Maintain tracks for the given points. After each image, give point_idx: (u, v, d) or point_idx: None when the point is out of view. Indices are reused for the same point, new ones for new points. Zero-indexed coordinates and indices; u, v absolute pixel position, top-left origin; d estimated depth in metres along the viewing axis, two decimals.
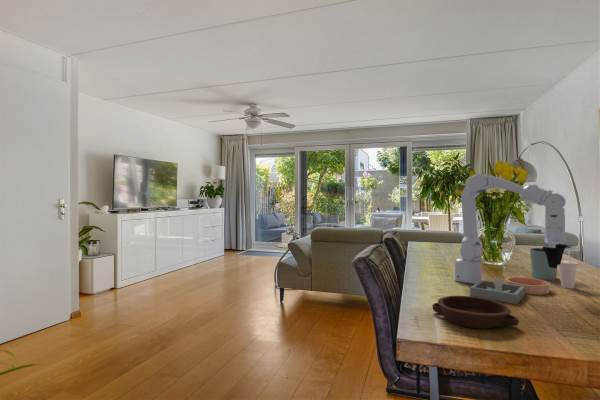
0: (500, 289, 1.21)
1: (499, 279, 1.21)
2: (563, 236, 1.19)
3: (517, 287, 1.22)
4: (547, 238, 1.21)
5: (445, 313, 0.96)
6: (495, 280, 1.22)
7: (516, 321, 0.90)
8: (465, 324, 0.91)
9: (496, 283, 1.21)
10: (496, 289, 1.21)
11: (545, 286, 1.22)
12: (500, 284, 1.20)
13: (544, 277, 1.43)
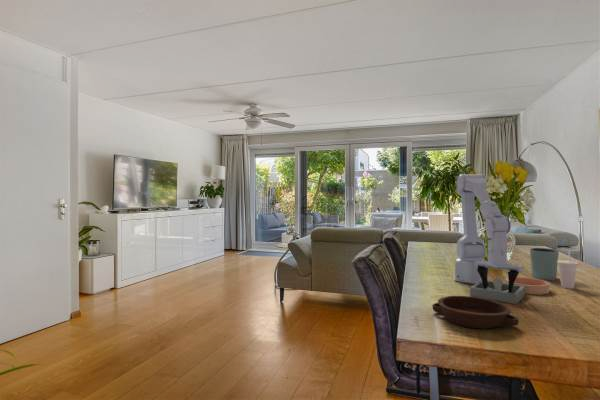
0: (499, 289, 1.20)
1: (498, 279, 1.21)
2: (492, 259, 1.19)
3: (517, 287, 1.22)
4: None
5: (445, 313, 0.96)
6: (494, 280, 1.22)
7: (516, 321, 0.90)
8: (465, 324, 0.91)
9: (495, 283, 1.21)
10: (496, 289, 1.21)
11: (545, 286, 1.22)
12: (499, 284, 1.20)
13: (544, 277, 1.43)
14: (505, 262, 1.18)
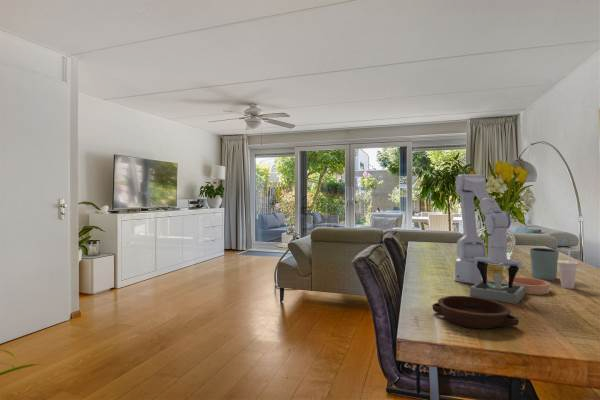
0: (500, 284, 1.20)
1: (499, 274, 1.21)
2: (491, 255, 1.19)
3: (517, 287, 1.22)
4: None
5: (445, 313, 0.96)
6: (495, 275, 1.22)
7: (516, 321, 0.90)
8: (465, 324, 0.91)
9: (496, 278, 1.21)
10: (496, 284, 1.21)
11: (545, 286, 1.22)
12: (500, 279, 1.20)
13: (544, 277, 1.43)
14: (504, 257, 1.18)
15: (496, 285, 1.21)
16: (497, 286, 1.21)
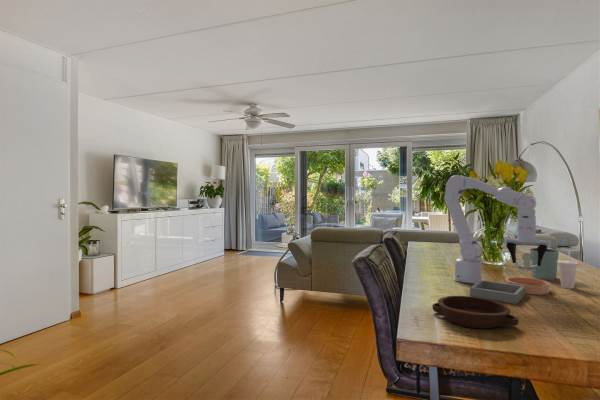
0: (528, 263, 1.28)
1: (527, 254, 1.28)
2: (521, 235, 1.27)
3: (517, 287, 1.22)
4: None
5: (445, 313, 0.96)
6: (524, 255, 1.29)
7: (516, 321, 0.90)
8: (465, 324, 0.91)
9: (524, 258, 1.28)
10: (524, 264, 1.28)
11: (545, 286, 1.22)
12: (528, 259, 1.28)
13: (544, 277, 1.43)
14: (534, 237, 1.25)
15: (525, 264, 1.28)
16: (526, 265, 1.28)
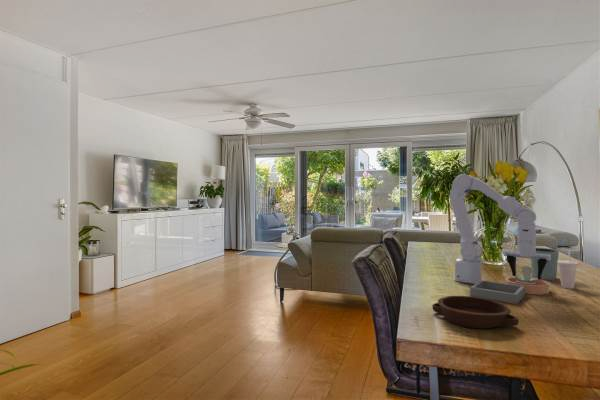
0: (528, 277, 1.28)
1: (528, 267, 1.28)
2: (521, 249, 1.27)
3: (517, 287, 1.22)
4: None
5: (445, 313, 0.96)
6: (524, 268, 1.29)
7: (516, 321, 0.90)
8: (465, 324, 0.91)
9: (525, 271, 1.29)
10: (525, 277, 1.29)
11: (545, 286, 1.22)
12: (528, 272, 1.28)
13: (544, 277, 1.43)
14: (534, 251, 1.26)
15: (525, 278, 1.28)
16: (526, 278, 1.28)
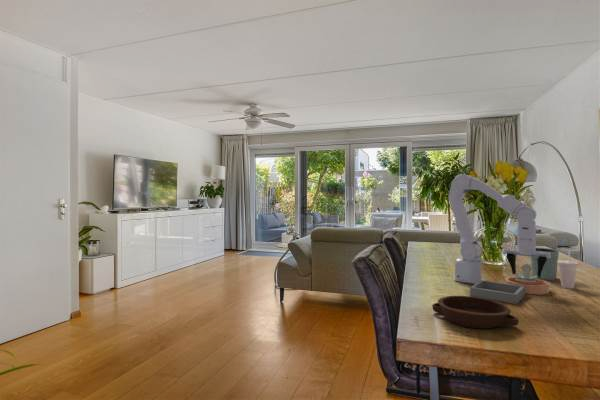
0: (528, 275, 1.28)
1: (527, 265, 1.28)
2: (521, 247, 1.27)
3: (517, 287, 1.22)
4: None
5: (445, 313, 0.96)
6: (523, 266, 1.29)
7: (516, 321, 0.90)
8: (465, 324, 0.91)
9: (524, 269, 1.29)
10: (524, 275, 1.29)
11: (545, 286, 1.22)
12: (528, 270, 1.28)
13: (544, 277, 1.43)
14: (534, 249, 1.26)
15: (525, 276, 1.28)
16: (526, 276, 1.28)
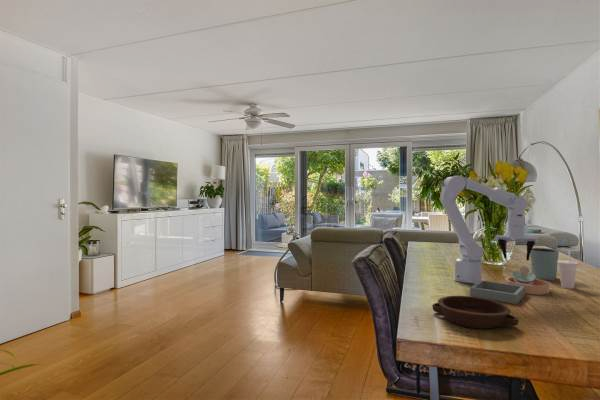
0: (526, 275, 1.31)
1: (526, 268, 1.30)
2: (512, 233, 1.37)
3: (517, 287, 1.22)
4: None
5: (445, 313, 0.96)
6: (522, 269, 1.31)
7: (516, 321, 0.90)
8: (465, 324, 0.91)
9: (523, 271, 1.31)
10: (522, 275, 1.32)
11: (545, 286, 1.22)
12: (526, 272, 1.30)
13: (544, 277, 1.43)
14: (523, 234, 1.36)
15: (522, 276, 1.32)
16: (523, 276, 1.32)
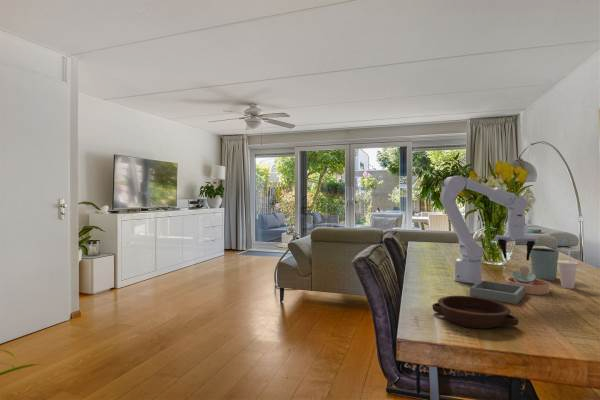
0: (526, 275, 1.31)
1: (526, 268, 1.30)
2: (512, 233, 1.37)
3: (517, 287, 1.22)
4: None
5: (445, 313, 0.96)
6: (522, 269, 1.31)
7: (516, 321, 0.90)
8: (465, 324, 0.91)
9: (523, 271, 1.31)
10: (522, 275, 1.32)
11: (545, 286, 1.22)
12: (526, 272, 1.30)
13: (544, 277, 1.43)
14: (523, 234, 1.36)
15: (522, 276, 1.32)
16: (523, 276, 1.32)
